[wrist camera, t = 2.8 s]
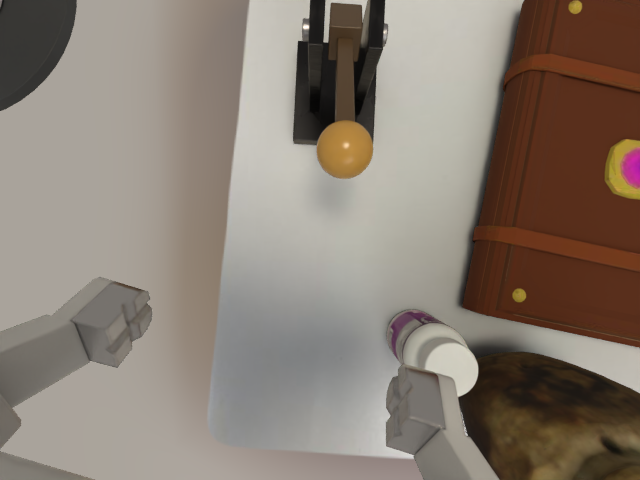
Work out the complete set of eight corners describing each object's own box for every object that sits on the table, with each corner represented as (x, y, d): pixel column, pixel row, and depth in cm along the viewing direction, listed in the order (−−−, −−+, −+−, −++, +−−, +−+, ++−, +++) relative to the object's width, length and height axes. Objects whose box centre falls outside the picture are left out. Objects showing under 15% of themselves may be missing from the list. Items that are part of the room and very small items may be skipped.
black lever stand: (371, 147, 33) (403, 92, 21) (293, 143, 33) (283, 85, 21) (375, 52, 33) (410, -55, 21) (298, 48, 33) (290, -64, 21)
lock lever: (368, 191, 19) (380, 154, 16) (314, 188, 19) (316, 150, 16) (362, 44, 25) (369, -2, 22) (321, 41, 25) (324, -5, 22)
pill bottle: (447, 328, 33) (503, 362, 23) (417, 370, 32) (462, 423, 23) (404, 297, 33) (443, 319, 23) (375, 340, 32) (401, 380, 23)
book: (717, 58, 34) (787, 25, 29) (665, 348, 33) (727, 366, 28) (512, 11, 34) (546, -31, 29) (453, 304, 33) (479, 314, 28)
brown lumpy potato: (422, 412, 32) (599, 680, 12) (430, 329, 33) (618, 461, 13) (549, 424, 33) (924, 706, 13) (557, 342, 33) (938, 492, 13)
